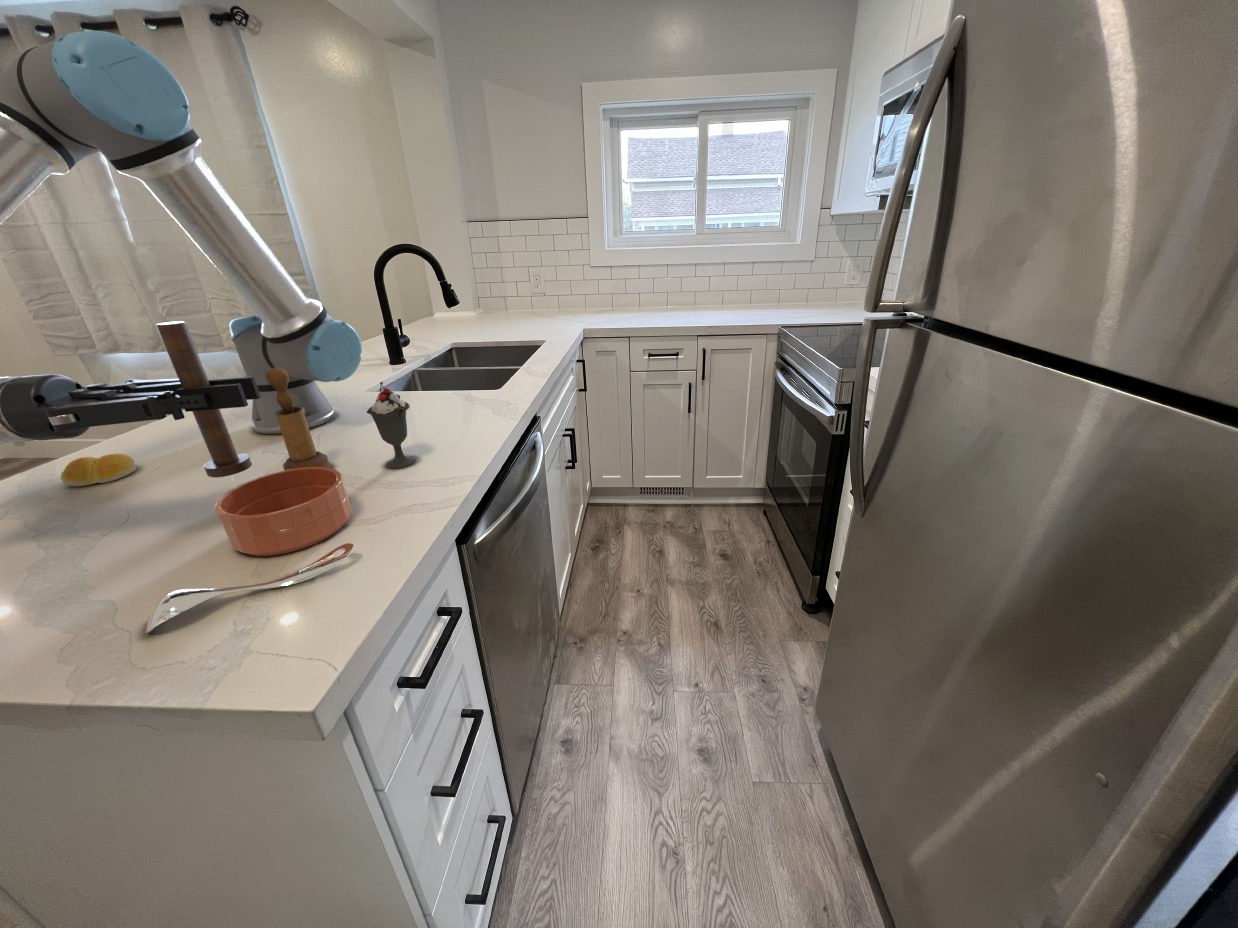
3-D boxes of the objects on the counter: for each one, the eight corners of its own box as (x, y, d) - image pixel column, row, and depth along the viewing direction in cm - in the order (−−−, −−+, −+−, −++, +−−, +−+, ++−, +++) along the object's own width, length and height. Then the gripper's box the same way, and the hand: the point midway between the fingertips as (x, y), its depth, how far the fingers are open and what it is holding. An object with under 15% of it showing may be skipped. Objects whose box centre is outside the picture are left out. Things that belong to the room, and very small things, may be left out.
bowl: (262, 509, 73) (248, 473, 71) (364, 497, 75) (354, 462, 73) (209, 566, 60) (189, 524, 58) (334, 550, 63) (320, 508, 60)
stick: (219, 463, 66) (160, 321, 59) (258, 460, 67) (205, 318, 59) (198, 479, 62) (132, 327, 54) (240, 475, 63) (180, 324, 55)
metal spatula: (345, 522, 61) (351, 539, 57) (354, 546, 62) (361, 564, 59) (135, 597, 51) (128, 623, 48) (153, 623, 53) (147, 650, 49)
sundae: (397, 474, 83) (375, 386, 76) (372, 466, 86) (349, 381, 80) (429, 459, 88) (411, 376, 81) (405, 452, 91) (386, 372, 85)
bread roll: (130, 479, 85) (119, 458, 83) (60, 492, 81) (47, 470, 80) (145, 462, 92) (136, 442, 90) (81, 473, 88) (70, 452, 86)
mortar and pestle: (310, 482, 81) (274, 374, 73) (277, 480, 82) (238, 373, 75) (339, 465, 87) (308, 363, 79) (307, 463, 88) (274, 363, 81)
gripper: (96, 417, 66) (286, 401, 70) (-18, 465, 52) (227, 442, 56) (68, 362, 63) (268, 348, 67) (-61, 397, 49) (201, 377, 53)
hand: (249, 391), depth 61 cm, fingers closed on stick, 3 cm apart
